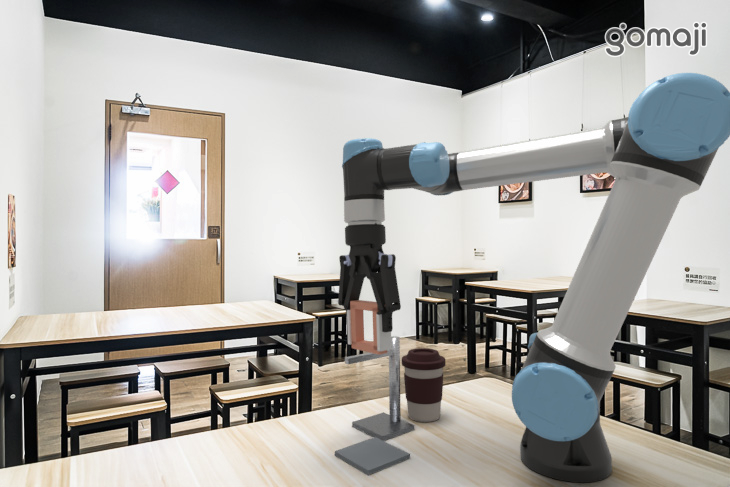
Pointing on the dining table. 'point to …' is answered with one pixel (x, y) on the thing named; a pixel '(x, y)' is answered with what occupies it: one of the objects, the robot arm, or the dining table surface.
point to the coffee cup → (423, 383)
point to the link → (358, 326)
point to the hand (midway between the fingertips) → (369, 346)
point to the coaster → (372, 455)
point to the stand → (384, 423)
